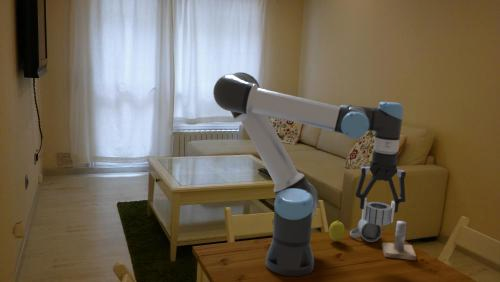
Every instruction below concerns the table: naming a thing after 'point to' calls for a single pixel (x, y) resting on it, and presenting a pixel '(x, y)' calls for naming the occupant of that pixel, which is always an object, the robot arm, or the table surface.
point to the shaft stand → (399, 244)
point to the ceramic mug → (367, 231)
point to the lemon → (336, 231)
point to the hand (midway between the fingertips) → (377, 219)
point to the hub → (378, 213)
